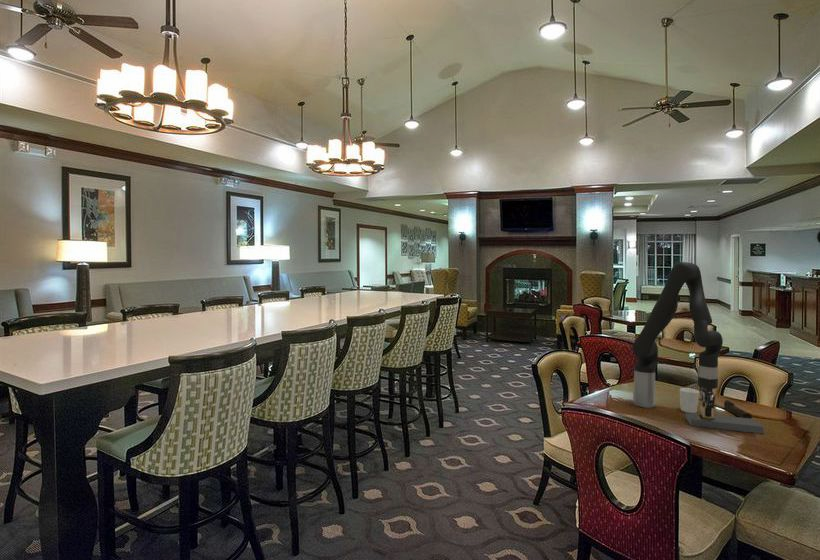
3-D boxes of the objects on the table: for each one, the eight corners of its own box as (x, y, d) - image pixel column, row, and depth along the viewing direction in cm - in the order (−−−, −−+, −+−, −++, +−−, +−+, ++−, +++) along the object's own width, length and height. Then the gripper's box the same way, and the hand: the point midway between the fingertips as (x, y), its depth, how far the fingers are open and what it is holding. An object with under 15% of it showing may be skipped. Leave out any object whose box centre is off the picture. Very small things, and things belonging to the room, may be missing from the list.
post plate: (690, 425, 194) (691, 419, 194) (685, 418, 204) (685, 411, 203) (763, 433, 185) (763, 426, 185) (754, 425, 195) (754, 419, 194)
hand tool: (752, 422, 200) (752, 412, 200) (742, 421, 201) (742, 411, 200) (730, 409, 218) (731, 399, 218) (721, 408, 219) (722, 399, 219)
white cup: (700, 410, 215) (700, 390, 214) (696, 414, 209) (697, 393, 208) (681, 407, 220) (681, 387, 220) (677, 410, 214) (677, 390, 214)
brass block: (702, 425, 195) (702, 407, 195) (700, 422, 199) (700, 404, 199) (713, 426, 194) (713, 408, 194) (710, 423, 198) (710, 405, 197)
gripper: (693, 371, 204) (692, 408, 204) (702, 379, 190) (701, 418, 191) (713, 373, 201) (712, 410, 202) (723, 380, 188) (721, 421, 188)
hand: (706, 414), depth 196 cm, fingers closed on brass block, 4 cm apart
